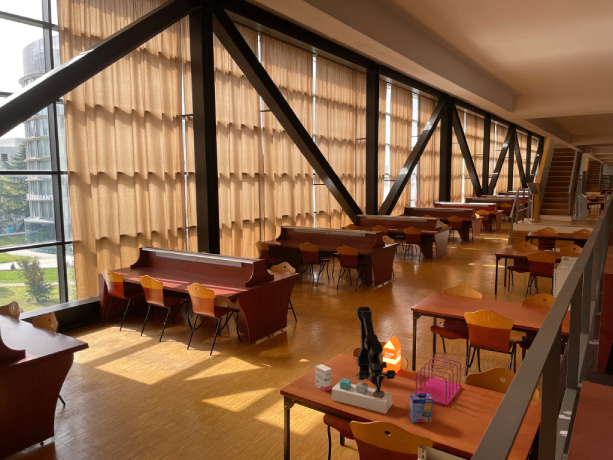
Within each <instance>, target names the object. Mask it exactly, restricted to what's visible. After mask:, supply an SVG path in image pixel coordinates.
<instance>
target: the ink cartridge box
mask: <svg viewBox="0 0 613 460" xmlns="http://www.w3.org/2000/svg"><path fill="white" fill-rule="evenodd" d="M409 397H410V398H409V419H410V422H411V423H412V424H416V423H415V422H430V423H432V422H433V410H434V409H433V408H434V406H433V405H434V403H433V398H432V397H431V395H430V394H426V393H419V394H415V393H410V396H409Z"/></svg>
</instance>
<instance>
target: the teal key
mask: <svg viewBox="0 0 613 460" xmlns="http://www.w3.org/2000/svg"><path fill="white" fill-rule="evenodd" d="M339 381H340V389H345V390H349V389H350V388H351V384H352V379H348V378H345V377H344V378H342V379H341V380H339Z"/></svg>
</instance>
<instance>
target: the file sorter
mask: <svg viewBox="0 0 613 460" xmlns="http://www.w3.org/2000/svg"><path fill="white" fill-rule="evenodd" d="M437 358H440V359H444V360H440V359H437ZM445 360H447V361H445ZM434 361H438V362H441V363H446V364H450V365H454V366H455V367H456V382H455V378H454V377H455V374H454V370H453V368H451V367H450V366H445V365H441V364H437V363H434ZM450 361H453V362H450ZM454 362H456V363H457V364H458V365H459V366H458V365H457V364H456V363H454ZM426 365H428V367H427V366H426ZM433 366H436V367H437V366H438V367H442V368H447V369H450V370H451V372H452V373H451V374H452V377H451V374H450V373H449V372H448V371H446V370H441V369H437V368H434V367H433ZM426 369H427V371H426ZM430 370H431V372H430ZM433 371H436V372H437V371H438V372H440V373H445V374H448V376H449V380H447V378H446V377H445V376H444V375H441V374H437V373H433ZM422 373H423V384H422ZM418 374H419V375H420V376H419V379H420V380H419V389H418ZM426 374H427V380H426ZM430 375H431V376H430ZM433 376H436V377H442V378H443V379H440V378H436V377H433ZM461 377H462V364H461V362H460V361H459V360H455V359H451V358H449V357H448V358H447V357H444V356H440V355H439V356H438V355H434V356H433V357H432V358H430V359H429V360H428V362H426V363H425V364H424V365H423V367H421V368H420V370H419V371H418V370H417V372H416V374H415V393H414V394H419V393H426V394H430V395H431V397H432V398H433V404H435V405H438V404H439V406H442V405H444V406H443V407H445V406H448V407H449V406H450V404H451V403H452V401H453V400H454V399H453V398H455V397H456V396H457V395H458V393H459V392H460V391H461V389H462V388H463V387H462V385H463V384H461V381H462V380H461ZM451 379H452V381H451ZM458 379H459V381H458ZM459 390H460V391H459ZM458 391H459V392H458ZM456 394H457V395H456ZM455 395H456V396H455ZM454 396H455V397H454ZM452 399H453V400H452ZM451 400H452V401H451ZM450 402H451V403H450ZM449 403H450V404H449Z"/></svg>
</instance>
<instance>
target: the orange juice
mask: <svg viewBox="0 0 613 460" xmlns="http://www.w3.org/2000/svg"><path fill="white" fill-rule="evenodd" d="M382 347H383V351H382V362H386V364H387V368H383V373H386V372H387V370H394V371H395V372H396V373H398V372H399V371H400V370H401V353H402V351H401V350H402V345H401V343H400V342H399V340H398V338H397V336H396V335H394V336H392V337H391V338H390V339H388V341H387V342H386V344H384V346H382Z"/></svg>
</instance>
